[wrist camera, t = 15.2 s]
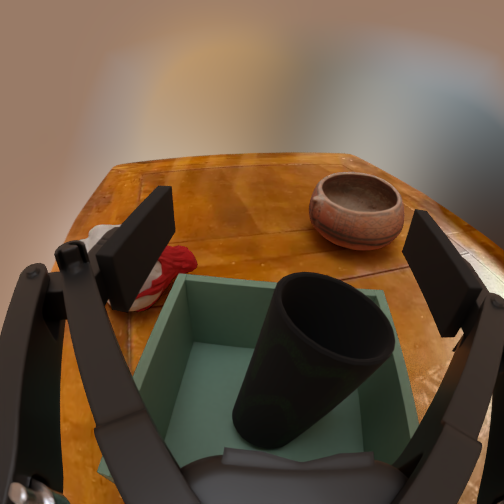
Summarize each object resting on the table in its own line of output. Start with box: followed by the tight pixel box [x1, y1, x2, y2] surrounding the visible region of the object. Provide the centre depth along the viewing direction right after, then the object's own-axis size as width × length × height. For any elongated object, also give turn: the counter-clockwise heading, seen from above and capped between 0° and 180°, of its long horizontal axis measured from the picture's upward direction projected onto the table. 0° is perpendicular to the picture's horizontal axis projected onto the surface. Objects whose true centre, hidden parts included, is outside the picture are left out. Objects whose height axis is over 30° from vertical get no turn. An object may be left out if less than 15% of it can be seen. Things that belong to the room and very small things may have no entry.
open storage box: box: [97, 273, 419, 484], centre depth 20 cm, size 18×18×9 cm
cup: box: [232, 272, 395, 449], centre depth 19 cm, size 8×8×12 cm
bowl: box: [309, 172, 404, 250], centre depth 46 cm, size 16×16×10 cm
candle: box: [79, 224, 198, 312], centre depth 34 cm, size 9×11×15 cm
